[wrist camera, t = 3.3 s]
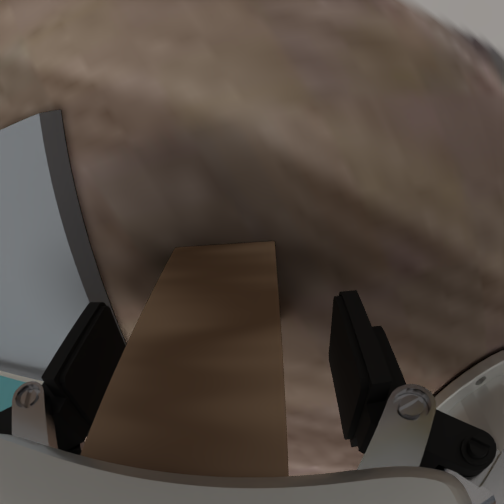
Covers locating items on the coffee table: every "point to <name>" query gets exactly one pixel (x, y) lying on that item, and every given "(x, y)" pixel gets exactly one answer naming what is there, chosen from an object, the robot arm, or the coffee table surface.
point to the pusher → (201, 371)
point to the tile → (10, 387)
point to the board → (40, 246)
